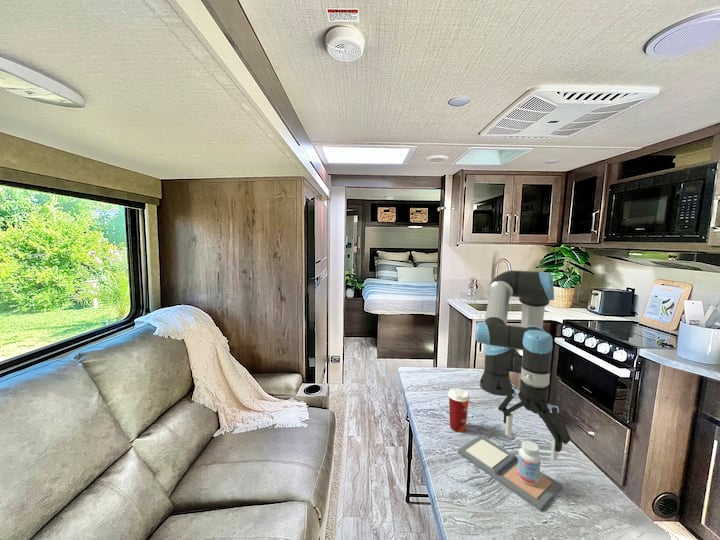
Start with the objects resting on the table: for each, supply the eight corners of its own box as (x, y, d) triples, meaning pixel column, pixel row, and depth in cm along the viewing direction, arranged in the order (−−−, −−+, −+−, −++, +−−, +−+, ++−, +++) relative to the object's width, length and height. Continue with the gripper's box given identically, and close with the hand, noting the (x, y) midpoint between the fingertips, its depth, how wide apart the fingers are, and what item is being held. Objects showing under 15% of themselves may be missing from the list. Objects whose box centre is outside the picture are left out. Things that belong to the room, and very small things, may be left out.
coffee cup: (469, 435, 116) (471, 399, 115) (447, 432, 118) (449, 396, 116) (466, 422, 125) (468, 388, 123) (446, 419, 126) (447, 386, 124)
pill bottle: (514, 478, 94) (516, 445, 93) (520, 467, 98) (522, 436, 97) (536, 489, 90) (538, 455, 88) (541, 478, 94) (543, 445, 93)
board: (480, 437, 115) (480, 432, 115) (561, 487, 92) (562, 481, 92) (457, 452, 107) (457, 446, 107) (540, 511, 84) (540, 504, 84)
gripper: (489, 369, 98) (486, 428, 101) (577, 405, 78) (570, 478, 81) (501, 363, 102) (498, 420, 105) (588, 396, 82) (581, 465, 85)
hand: (529, 445), depth 93 cm, fingers open, 13 cm apart
